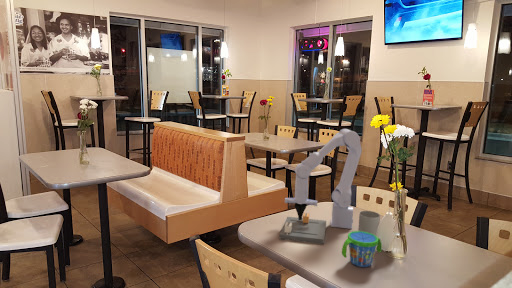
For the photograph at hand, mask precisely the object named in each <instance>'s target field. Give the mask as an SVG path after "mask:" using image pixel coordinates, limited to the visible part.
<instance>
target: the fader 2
mask: <svg viewBox="0 0 512 288" xmlns="http://www.w3.org/2000/svg"><path fill="white" fill-rule="evenodd" d="M302 218H303V223H308V222H309V219H310V213H308V212H304V213H303V215H302Z"/></svg>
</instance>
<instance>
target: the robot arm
mask: <svg viewBox="0 0 512 288" xmlns="http://www.w3.org/2000/svg"><path fill="white" fill-rule="evenodd" d="M344 146H345V147H346V148H347V150H348V154H347V157H346V160H345V163H344V167H343V171H342V173H341V176H340V181H339V182H338V184H337V185H336V187H335V189H334V190H333V191H332V193H331V199H332V201H333V203H332V209H331V220H330V227H331V228H332V227H333V228H342V229H349V230H350V229H351V230H352V229H353V223H354V217H353V216H354V207H353V206H351V203H352V184H353V180H354V178H355V175H356V171H357V168H358V164H359V163H360V158H361V156H362V151H363V150H362V144H361V137H360V136H359V134H358V133H357V132H356V131H353V130H351V129H348V128H342V129H340V130H339V131H338V132H337V133H335V134H334V135H333V137H332V138H331V139H330V140H329V141H328V142H326V143H325V145H324V146H323V147H321V149H319V150H318V151H314V152H310V153H309V154H308V157H306V158H305V159H304V160H301V161H300V162H301V163H298V164H297V165H296V166H295V168H294V170H293V171H294V173H295V181H294V183H295V186H294V197H285V198H284V204H294V208H295V211H296V213H297V218H299V220H302V218H303V214H304V213H305V210H306V208H307V206H314V207H318V200H314V199H309V198H308V197H309V196H308V195H309V177H310V176H311V172H312V171H314V170H315V169H316V168H317V167H318V166H320V164H322V163H323V159H324V158H325V156H327V155H328V154H329V153H331V152H332V151H333V150H335V148H337V147H344Z"/></svg>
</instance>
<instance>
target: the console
mask: <svg viewBox="0 0 512 288" xmlns="http://www.w3.org/2000/svg"><path fill="white" fill-rule="evenodd" d="M286 222H291V223H292V230H291V233H286V232H285V224H286ZM326 228H327V220H324V219H323V220H322V219H313V218H309V222H308V223H303V217H302V220H299V218H298V217H294V216H287V217H286V219H285V222H284V223H283V226H282V228H281V230H280V233H279V240H287V241H292V242H293V241H294V242H303V243H310V244H319V245H324V243H325V237H326Z"/></svg>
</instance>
